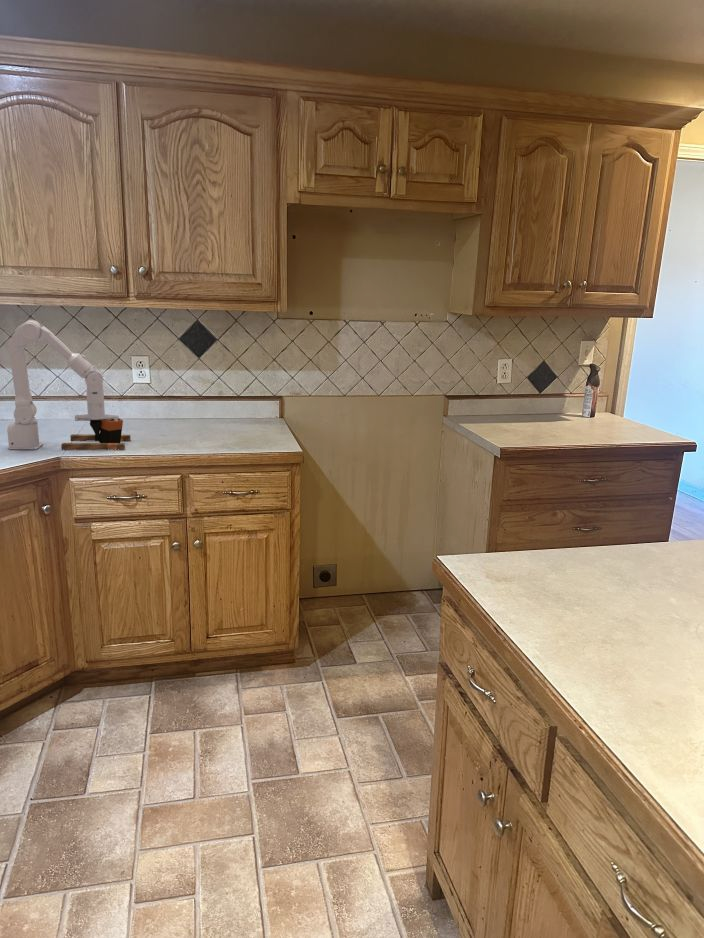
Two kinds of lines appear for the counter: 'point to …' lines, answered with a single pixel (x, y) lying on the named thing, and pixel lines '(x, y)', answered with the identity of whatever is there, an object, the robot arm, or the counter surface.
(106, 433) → the battery
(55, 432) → the counter surface
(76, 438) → the guide channel
